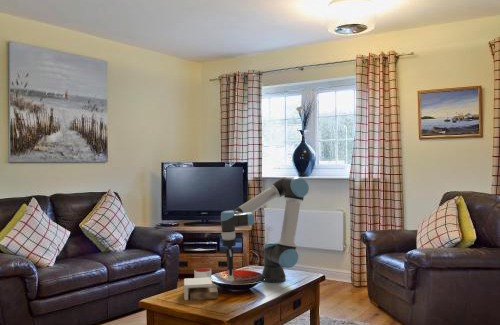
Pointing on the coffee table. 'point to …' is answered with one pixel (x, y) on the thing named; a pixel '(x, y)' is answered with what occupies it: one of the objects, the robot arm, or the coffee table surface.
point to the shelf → (196, 284)
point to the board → (203, 293)
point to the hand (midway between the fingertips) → (230, 280)
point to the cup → (202, 273)
